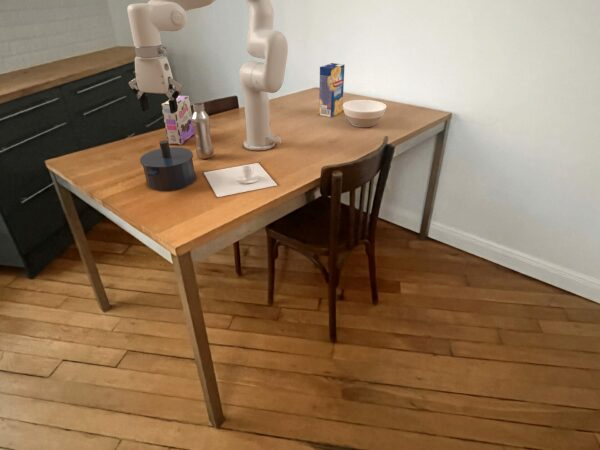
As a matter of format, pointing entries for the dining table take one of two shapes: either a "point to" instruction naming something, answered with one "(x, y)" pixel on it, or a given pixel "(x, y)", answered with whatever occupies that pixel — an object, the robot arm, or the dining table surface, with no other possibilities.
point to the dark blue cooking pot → (170, 177)
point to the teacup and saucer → (239, 179)
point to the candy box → (178, 121)
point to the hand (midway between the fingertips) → (160, 111)
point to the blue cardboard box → (331, 89)
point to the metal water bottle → (202, 131)
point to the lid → (166, 156)
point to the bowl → (364, 112)
